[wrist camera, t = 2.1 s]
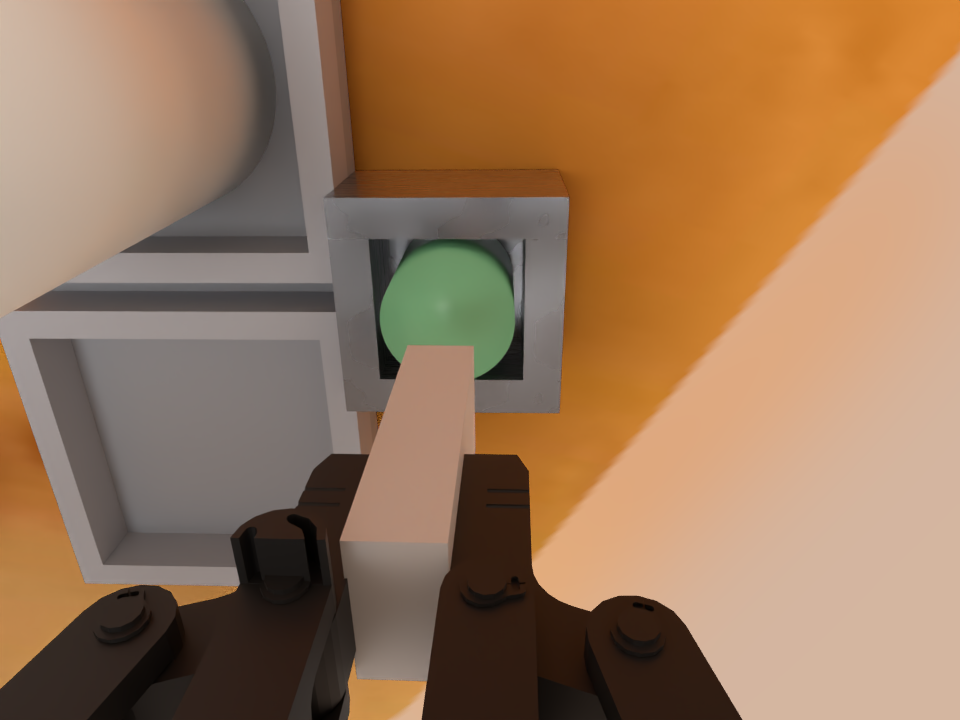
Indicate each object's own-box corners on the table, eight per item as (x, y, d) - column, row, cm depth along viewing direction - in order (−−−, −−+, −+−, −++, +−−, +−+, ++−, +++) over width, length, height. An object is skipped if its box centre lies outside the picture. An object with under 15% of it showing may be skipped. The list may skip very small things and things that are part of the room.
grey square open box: (371, 353, 26) (346, 411, 22) (355, 170, 23) (323, 197, 19) (551, 354, 26) (559, 413, 22) (558, 169, 23) (569, 197, 19)
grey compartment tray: (127, 540, 31) (88, 592, 28) (-83, -162, 20) (-185, -197, 17) (388, 544, 30) (375, 597, 27) (325, -172, 19) (292, -209, 16)
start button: (402, 331, 24) (384, 382, 21) (395, 222, 23) (374, 257, 19) (512, 332, 24) (514, 383, 21) (514, 222, 23) (515, 256, 19)
